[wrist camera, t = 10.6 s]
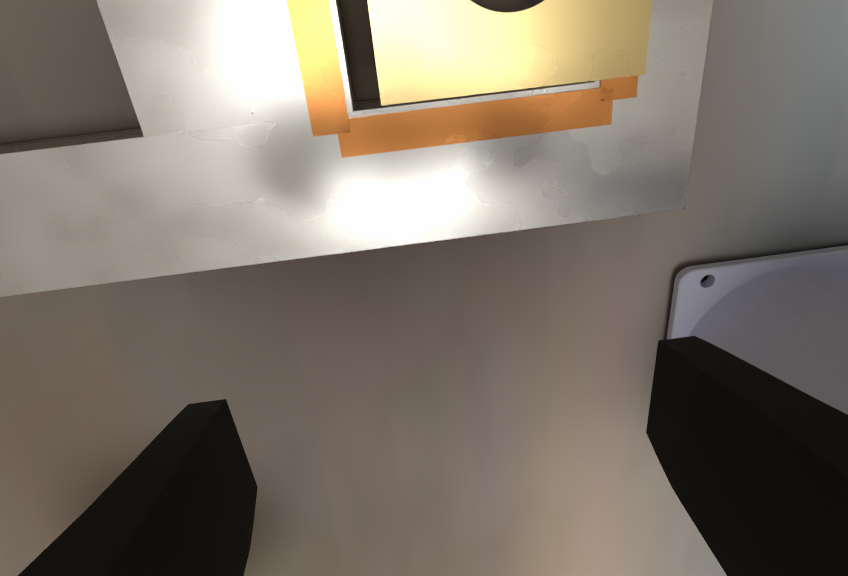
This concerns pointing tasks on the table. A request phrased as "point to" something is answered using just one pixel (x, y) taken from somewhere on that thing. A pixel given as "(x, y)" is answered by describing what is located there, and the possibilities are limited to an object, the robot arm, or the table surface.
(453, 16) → the brass nut
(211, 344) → the table surface
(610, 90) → the panel
